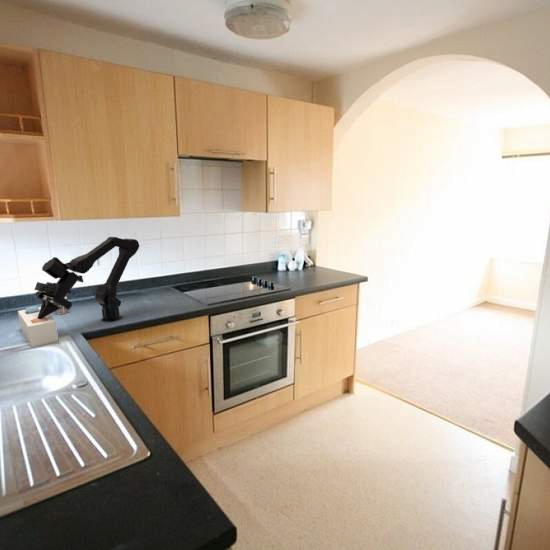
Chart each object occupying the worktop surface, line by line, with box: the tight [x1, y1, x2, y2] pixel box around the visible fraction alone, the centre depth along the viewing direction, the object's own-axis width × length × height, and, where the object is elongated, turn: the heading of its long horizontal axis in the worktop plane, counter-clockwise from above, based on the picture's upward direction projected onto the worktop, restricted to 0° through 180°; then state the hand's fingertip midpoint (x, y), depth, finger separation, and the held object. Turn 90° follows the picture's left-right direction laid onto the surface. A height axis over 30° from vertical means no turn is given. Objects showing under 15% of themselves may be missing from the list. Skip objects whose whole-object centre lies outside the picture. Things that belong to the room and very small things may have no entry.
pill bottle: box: [55, 296, 70, 315], centre depth 178 cm, size 6×6×10 cm
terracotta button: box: [33, 317, 46, 323], centre depth 143 cm, size 4×4×2 cm
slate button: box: [25, 305, 39, 314], centre depth 154 cm, size 4×4×2 cm
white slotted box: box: [17, 306, 59, 348], centre depth 149 cm, size 26×9×8 cm, turn 41°
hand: (38, 318), depth 143 cm, fingers closed, pressing on terracotta button
